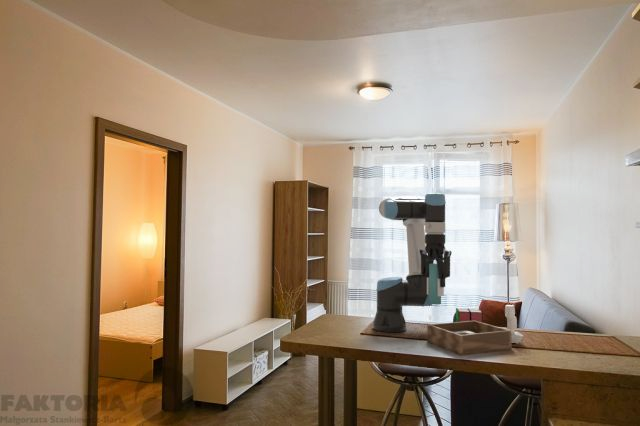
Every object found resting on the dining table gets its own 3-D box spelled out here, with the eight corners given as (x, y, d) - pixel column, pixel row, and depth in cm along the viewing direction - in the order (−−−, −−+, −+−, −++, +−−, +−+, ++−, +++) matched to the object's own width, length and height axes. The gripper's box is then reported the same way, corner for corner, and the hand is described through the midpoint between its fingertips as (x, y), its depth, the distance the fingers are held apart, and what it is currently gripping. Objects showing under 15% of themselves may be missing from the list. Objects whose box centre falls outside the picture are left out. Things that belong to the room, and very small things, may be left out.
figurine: (504, 344, 169) (504, 306, 170) (498, 339, 178) (498, 302, 179) (524, 345, 168) (523, 307, 168) (517, 339, 177) (516, 303, 178)
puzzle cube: (482, 335, 184) (482, 312, 185) (458, 334, 186) (458, 311, 187) (478, 330, 194) (478, 308, 194) (455, 329, 196) (455, 307, 196)
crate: (427, 342, 172) (427, 324, 173) (474, 337, 181) (474, 320, 182) (460, 355, 154) (460, 335, 154) (511, 349, 163) (511, 330, 163)
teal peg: (426, 303, 163) (426, 263, 163) (434, 302, 165) (434, 263, 166) (436, 304, 159) (435, 264, 160) (443, 303, 162) (443, 263, 162)
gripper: (411, 233, 168) (411, 293, 167) (447, 233, 154) (448, 299, 153) (423, 233, 172) (423, 291, 171) (460, 233, 158) (460, 297, 157)
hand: (435, 294), depth 162 cm, fingers closed on teal peg, 4 cm apart
